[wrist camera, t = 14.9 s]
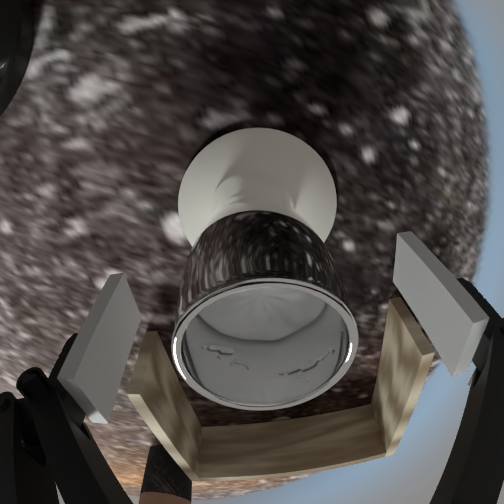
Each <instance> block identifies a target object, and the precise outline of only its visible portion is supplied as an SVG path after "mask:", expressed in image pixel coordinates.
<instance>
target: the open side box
mask: <svg viewBox="0 0 504 504" xmlns="http://www.w3.org/2000/svg"><path fill="white" fill-rule="evenodd" d="M434 353H435V352H434V350H433V349H432V347H431V345H430V344H429V342H428V340H427V339H426V337H425V335H424V334H423V332H422V330H421V329H420V327H419V326H418V324H417V322H416V321H415V319H414V318H413V316H412V314H411V313H410V311H409V310H408V308H407V307H406V305H405V303H404V302H403V300H402V299H401V297H396V298H391V299H389V305H388V313H387V320H386V327H385V333H384V340H383V346H382V352H381V357H380V363H379V368H378V373H377V378H376V383H375V388H374V392H373V397H372V401H371V404H369V405H365V406H360V407H356V408H351V409H347V410H342V411H337V412H331V413H326V414H320V415H314V416H308V417H302V418H295V419H288V420H280V421H272V422H263V423H253V424H242V425H228V426H210V427H202V426H201V424H200V422H199V420H198V418H197V416H196V414H195V412H194V410H193V408H192V406H191V404H190V402H189V400H188V398H187V396H186V394H185V392H184V390H183V388H182V386H181V384H180V381H179V379H178V377H177V375H176V373H175V371H174V369H173V366H172V364H171V362H170V360H169V357H168V355H167V353H166V351H165V348H164V346H163V344H162V341H161V339H160V337H159V334H158V332H157V331H150V332H146V334H145V337H144V340H143V343H142V346H141V349H140V352H139V355H138V358H137V362H136V365H135V368H134V371H133V374H132V378H131V381H130V384H129V388H128V391H127V396H128V397H129V399H130V400H131V402H132V403H133V405H134V406H135V408H136V409H137V411H138V412H139V413H140V415H141V416H142V418H143V419H144V421H145V422H146V423H147V425H148V426H149V428H150V429H151V430H152V432H153V433H154V434H155V436H156V437H157V438H158V440H159V441H160V442H161V444H162V445H163V446H164V448H165V449H166V450H167V451H168V453H169V454H170V455H171V457H172V458H173V459H174V460H175V462H176V463H177V464H178V465H179V466H180V468H181V469H182V470H183V471H184V472H185V474H186V475H187V476H188V477H189V478H190V479H191V481H228V480H248V479H261V478H272V477H282V476H290V475H297V474H304V473H311V472H317V471H323V470H328V469H334V468H339V467H343V466H348V465H353V464H357V463H361V462H366V461H369V460H373V459H377V458H381V457H385V456H388V455H392V454H394V452H395V450H396V448H397V446H398V444H399V442H400V440H401V438H402V435H403V433H404V431H405V429H406V426H407V424H408V422H409V420H410V417H411V415H412V413H413V410H414V408H415V405H416V403H417V400H418V398H419V395H420V392H421V390H422V387H423V385H424V382H425V379H426V376H427V374H428V371H429V368H430V365H431V362H432V359H433V356H434Z"/></svg>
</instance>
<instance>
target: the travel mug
mask: <svg viewBox="0 0 504 504" xmlns="http://www.w3.org/2000/svg"><path fill="white" fill-rule="evenodd" d="M191 493H192V481H191V479H190V478H189V477H188V476H187V475H186V474H185V472H184V471H183V470H182V469H181V468H180V466H179V465H178V464H177V463H176V462H175V460H174V459H173V458H172V457H171V455H170V454H169V453H168V451H167V450H166V449H165V448H164V446H163V445H156V446H153V447H151V448H150V450H149V454H148V459H147V463H146V468H145V473H144V478H143V483H142V488H141V493H140V499H139V504H191Z"/></svg>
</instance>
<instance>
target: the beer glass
mask: <svg viewBox="0 0 504 504" xmlns="http://www.w3.org/2000/svg"><path fill="white" fill-rule="evenodd" d="M211 212H212V218H211V219H210V221H209V222H208V223H207V224H206V226H205V227H204V228H203V230H202V231H201V233H200V235H199V236H198V238H197V240H196V241H195V243H194V245H193V247H192V249H191V252H190V254H189V257H188V260H187V263H186V265H185V268H184V272H183V276H182V280H181V285H180V289H179V295H178V302H177V309H176V318H175V327H174V332H173V336H172V341H171V352H172V358H173V361H174V364H175V367H176V369H177V371H178V372H179V374H180V375H181V377H182V378H183V379H184V381H185V382H186V383H187V384H188V385H189V386H190V387H191V388H192V389H194V390H195V391H196V392H198V393H199V394H201V395H202V396H204V397H206V398H208V399H210V400H212V401H214V402H216V403H219V404H222V405H225V406H228V407H232V408H237V409H244V410H275V409H282V408H287V407H291V406H295V405H298V404H301V403H304V402H306V401H309V400H311V399H313V398H315V397H317V396H319V395H320V394H322V393H324V392H325V391H327V390H328V389H330V388H331V387H332V386H333V385H335V384H336V383H337V382H338V381H339V380H340V379H341V378H342V377H343V376H344V374H345V373H346V372H347V370H348V369H349V367H350V366H351V364H352V362H353V360H354V358H355V355H356V352H357V348H358V329H357V325H356V322H355V319H354V317H353V315H352V313H351V310H350V306H349V303H348V299H347V296H346V293H345V290H344V287H343V284H342V281H341V278H340V275H339V273H338V270H337V268H336V266H335V263H334V261H333V259H332V257H331V255H330V253H329V251H328V249H327V248H326V246H325V244H324V243H323V241H322V239H321V238H320V236H319V235H318V233H317V232H316V231H315V230H314V229H313V228H312V227H311V225H310V224H309V223H308V222H307V221H306V220H305V219H304V218H303V217H302V216H301V215H300V214H298V213H297V212H296V211H295V210H294V201H293V197H292V194H291V192H290V190H289V188H288V186H287V185H286V184H285V183H284V181H283V180H281V179H280V178H279V177H278V176H276V175H275V174H273V173H271V172H268V171H266V170H262V169H245V170H241V171H238V172H235V173H233V174H231V175H230V176H228V177H227V178H225V179H224V180H223V181H222V182H221V183H220V185H219V186H218V187H217V189H216V191H215V193H214V196H213V199H212V205H211Z"/></svg>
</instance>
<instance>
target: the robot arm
mask: <svg viewBox="0 0 504 504" xmlns="http://www.w3.org/2000/svg"><path fill="white" fill-rule="evenodd" d="M32 38H33V13H32V8H31V4H30V1H29V0H0V115H1V114H2V113H3V112H4V110H5V109H6V108H7V106H8V105H9V103H10V102H11V100H12V98H13V96H14V95H15V93H16V91H17V89H18V87H19V84H20V82H21V80H22V77H23V75H24V72H25V69H26V66H27V63H28V59H29V55H30V51H31V45H32ZM393 282H394V284H395V285H396V287H397V288H398V290H399V291H400V293H401V294H402V296H403V297H404V299H405V300H406V302H407V303H408V305H409V306H410V308H411V309H412V311H413V312H414V314H415V316H416V317H417V319H418V320H419V322H420V324H421V325H422V327H423V328H424V330H425V332H426V333H427V335H428V336H429V338H430V340H431V341H432V343H433V345H434V346H435V348H436V350H437V351H438V353H439V355H440V357H441V358H442V360H443V362H444V364H445V365H446V367H447V369H448V371H449V372H450V374H451V376H452V377H453V376H455V375H458V374H461V373H464V372H466V371H467V370H468V369H469V366H470V364H471V362H472V361H473V363H474V364H475V366H476V369H475V371H474V373H473V375H472V377H471V379H470V381H469V383H468V385H469V386H470V384H471V387H470V391H469V395H468V399H467V403H466V407H465V410H464V414H463V417H462V420H461V424H460V427H459V430H458V433H457V436H456V439H455V442H454V445H453V448H452V451H451V454H450V457H449V459H448V462H447V464H446V467H445V470H444V472H443V475H442V477H441V479H440V482H439V484H438V486H437V489H436V491H435V493H434V495H433V498H432V500H431V502H430V504H496V503H497V500H498V497H499V494H500V491H501V488H502V484H503V481H504V318H501V317H500V316H499V314H498V313H497V312H496V311H495V310H494V308H493V307H492V306H491V305H490V304H489V303H488V301H487V300H486V299H485V298H483V296H482V295H481V293H479V292H478V290H477V289H476V288H475V287H474V286H473V285H472V283H470V282H468V281H467V280H465V279H463V278H458V279H456V278H455V277H454V276H453V275H452V274H451V273H450V271H449V270H448V269H447V268H446V267H445V266H444V265H443V264H442V263H441V262H440V261H439V260H438V258H437V257H436V256H435V255H434V254H433V253H432V252H431V251H430V250H429V249H428V248H427V247H426V246H425V245H424V244H423V243H422V242H421V241H420V240H419V239H418V238H417V237H416V236H415V235H414V234H413V233H412V232H411V231H410V232H403V233H397V245H396V256H395V267H394V276H393ZM141 318H142V316H141V314H140V312H139V309H138V307H137V305H136V302H135V300H134V297H133V295H132V292H131V290H130V287H129V285H128V282H127V280H126V277H125V275H124V273H119V274H112V275H110V276H109V278H108V280H107V281H106V283H105V285H104V287H103V288H102V290H101V292H100V294H99V296H98V297H97V299H96V301H95V303H94V305H93V307H92V308H91V310H90V312H89V314H88V316H87V318H86V320H85V322H84V324H83V326H82V327H81V329H80V331H79V333H74V334H73V335H72V336H71V337H70V338H69V339H68V340H67V341H66V343H65V345H64V347H63V349H62V352H61V353H60V355H59V359H57V361H56V363H55V365H54V367H53V369H52V371H51V374H50V376H49V378H47V376H46V375H45V374H44V372H43V371H42V370H41V369H40V368H38V367H32V368H30V369H27V370H26V371H24V372H23V373H22V374H21V375H20V377H19V378H18V380H17V383H16V388H17V389H18V390H19V391H20V393H21V394H22V395H23V396H24V397H25V398H21V399H16V397H15V396H14V395H13V394H12V393H11V392H3V393H1V394H0V504H59V500H58V494H57V489H56V485H57V487H58V489H59V492H60V494H61V496H62V498H63V500H64V502H65V504H133V503H132V501H131V500H130V498H129V497H128V495H127V494H126V492H125V491H124V489H123V488H122V486H121V485H120V483H119V482H118V480H117V478H116V477H115V475H114V474H113V472H112V470H111V469H110V467H109V465H108V464H107V462H106V460H105V458H104V457H103V455H102V453H101V451H100V449H99V448H98V446H97V444H96V442H95V440H94V438H93V436H92V435H91V433H90V431H89V429H88V427H87V425H86V424H85V423H84V422H83V421H84V418H85V415H87V416H88V418H89V419H90V420H91V421H92V422H93V423H105V424H109V421H110V417H111V413H112V410H113V406H114V403H115V399H116V396H117V392H118V389H119V386H120V382H121V379H122V376H123V373H124V369H125V366H126V363H127V360H128V357H129V354H130V350H131V347H132V344H133V341H134V338H135V335H136V332H137V329H138V326H139V324H140V321H141ZM55 482H56V483H55Z"/></svg>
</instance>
